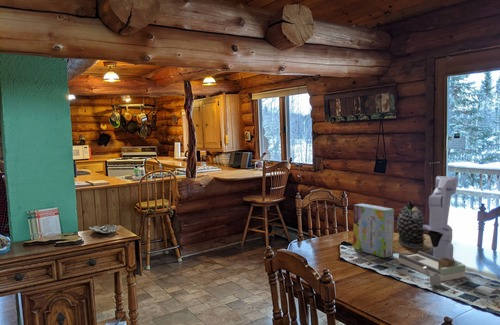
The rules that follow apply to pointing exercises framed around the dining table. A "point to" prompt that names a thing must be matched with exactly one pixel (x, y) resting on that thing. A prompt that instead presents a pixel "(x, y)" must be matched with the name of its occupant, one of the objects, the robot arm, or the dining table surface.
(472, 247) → the dining table surface
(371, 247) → the snack box
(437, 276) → the lighter
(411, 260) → the trap channel
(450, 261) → the walnut block
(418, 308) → the dining table surface
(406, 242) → the pine cone
